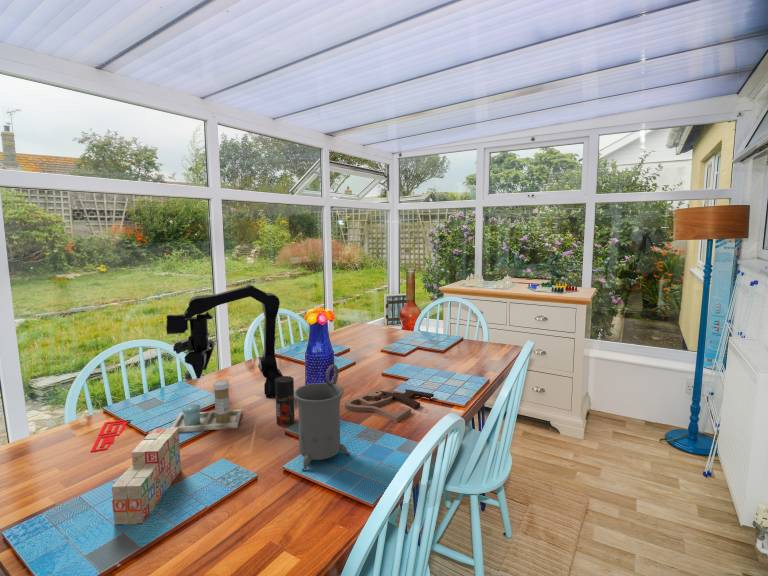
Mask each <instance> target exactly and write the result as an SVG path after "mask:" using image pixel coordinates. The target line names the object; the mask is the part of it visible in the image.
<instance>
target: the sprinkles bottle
mask: <svg viewBox="0 0 768 576" xmlns="http://www.w3.org/2000/svg"><path fill="white" fill-rule="evenodd" d="M229 386H230V385H229V381H228V380H224V379H223V380H217V381H215V382H214V383H213V389H214V390H213V391H214V411H215V412H216V422H217V423H227V422H228V421H230V413H229V411H230V410H231V409H230V407H231V406H230V395H229V394H230V393H229Z"/></svg>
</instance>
